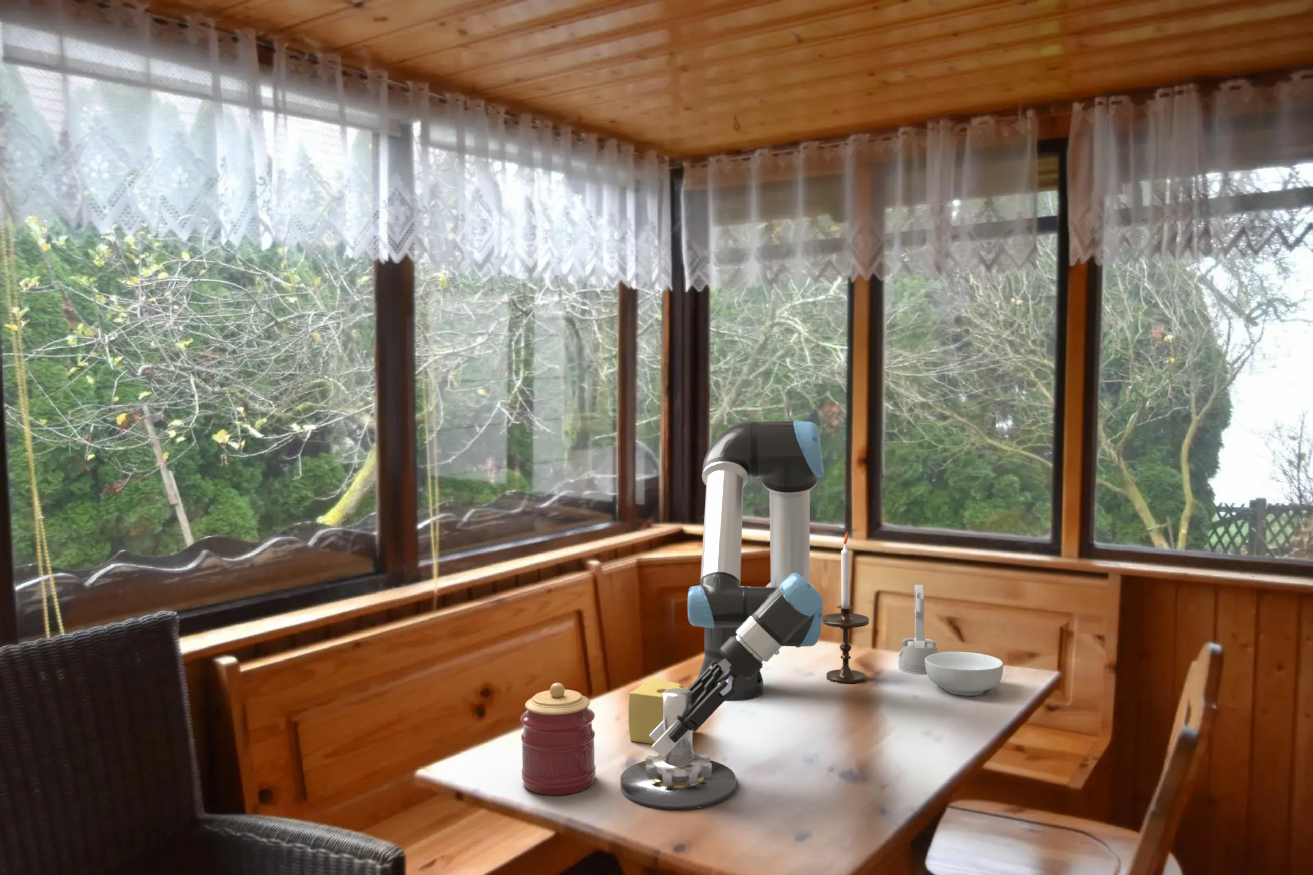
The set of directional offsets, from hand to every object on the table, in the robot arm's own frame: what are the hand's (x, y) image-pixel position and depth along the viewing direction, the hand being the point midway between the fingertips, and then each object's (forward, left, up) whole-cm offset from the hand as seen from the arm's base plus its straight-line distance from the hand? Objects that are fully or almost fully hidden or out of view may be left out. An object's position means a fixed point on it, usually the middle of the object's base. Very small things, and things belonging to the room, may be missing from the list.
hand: (656, 745), depth 173 cm
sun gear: (+1, +4, -5) cm, 6 cm away
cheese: (-23, +11, -7) cm, 26 cm away
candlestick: (-40, +67, -7) cm, 79 cm away
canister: (-10, -15, -7) cm, 19 cm away
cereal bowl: (-20, +85, -7) cm, 88 cm away
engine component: (-39, +88, -7) cm, 97 cm away
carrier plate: (+1, +3, -7) cm, 8 cm away
